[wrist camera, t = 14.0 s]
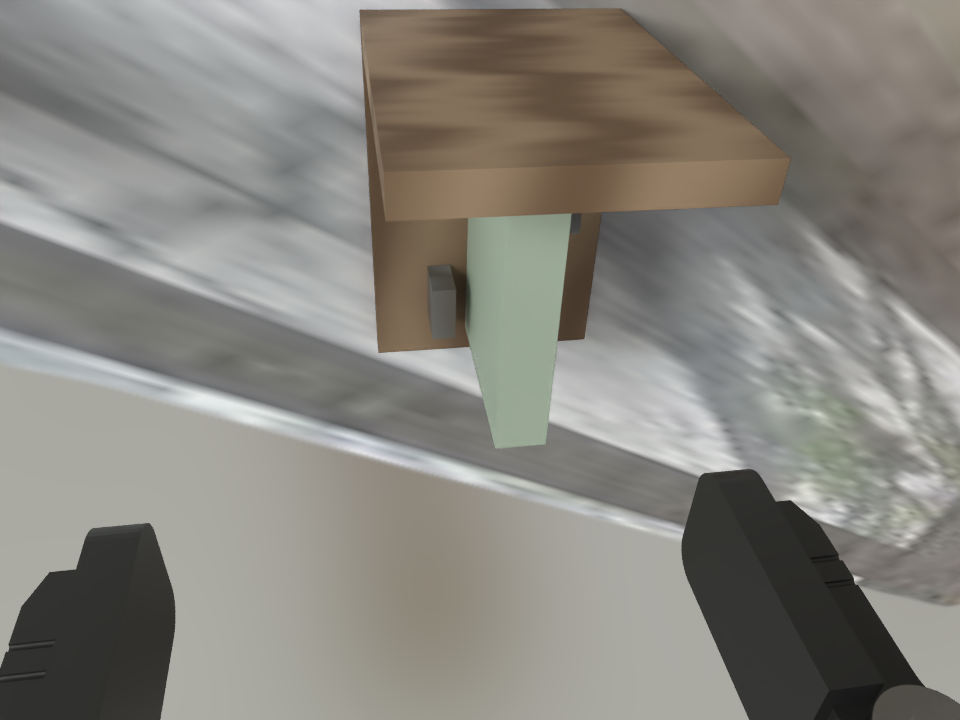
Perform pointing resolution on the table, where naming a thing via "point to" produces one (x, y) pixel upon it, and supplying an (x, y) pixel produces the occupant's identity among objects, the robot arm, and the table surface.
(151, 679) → the robot arm
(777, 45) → the table surface
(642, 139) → the wooden l-shaped stand
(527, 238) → the door
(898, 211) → the table surface
